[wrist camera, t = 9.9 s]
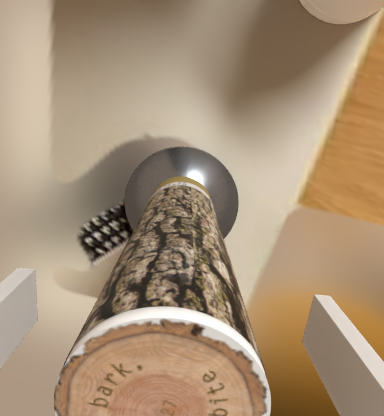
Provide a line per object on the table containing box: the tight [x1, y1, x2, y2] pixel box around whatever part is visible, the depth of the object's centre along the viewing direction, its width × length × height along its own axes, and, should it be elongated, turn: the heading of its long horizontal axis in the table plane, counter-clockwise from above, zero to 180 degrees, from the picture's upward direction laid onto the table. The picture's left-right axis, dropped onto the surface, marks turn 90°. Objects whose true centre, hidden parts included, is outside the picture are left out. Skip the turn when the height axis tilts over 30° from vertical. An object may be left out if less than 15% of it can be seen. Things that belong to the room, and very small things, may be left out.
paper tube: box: [54, 176, 271, 416], centre depth 21 cm, size 7×7×25 cm
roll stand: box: [125, 146, 238, 239], centre depth 27 cm, size 13×13×14 cm
